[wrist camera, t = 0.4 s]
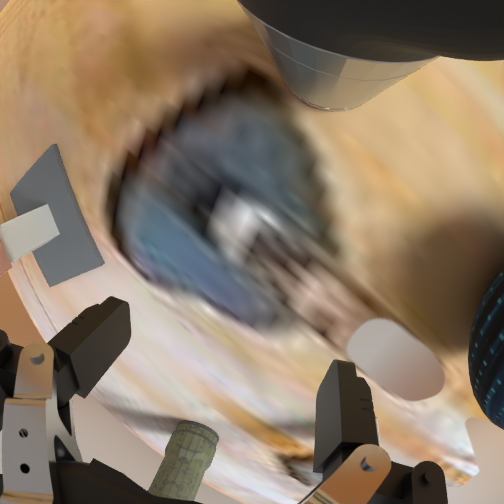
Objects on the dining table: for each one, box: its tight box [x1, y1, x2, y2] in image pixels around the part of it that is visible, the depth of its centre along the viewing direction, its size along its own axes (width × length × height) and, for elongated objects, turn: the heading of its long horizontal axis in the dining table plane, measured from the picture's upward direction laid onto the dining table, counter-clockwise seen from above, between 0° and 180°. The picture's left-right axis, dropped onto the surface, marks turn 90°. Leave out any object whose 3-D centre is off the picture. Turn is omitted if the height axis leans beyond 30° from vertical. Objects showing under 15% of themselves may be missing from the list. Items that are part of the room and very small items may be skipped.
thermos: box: [147, 421, 219, 501], centre depth 31 cm, size 9×12×35 cm
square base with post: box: [0, 144, 104, 287], centre depth 26 cm, size 18×16×18 cm
